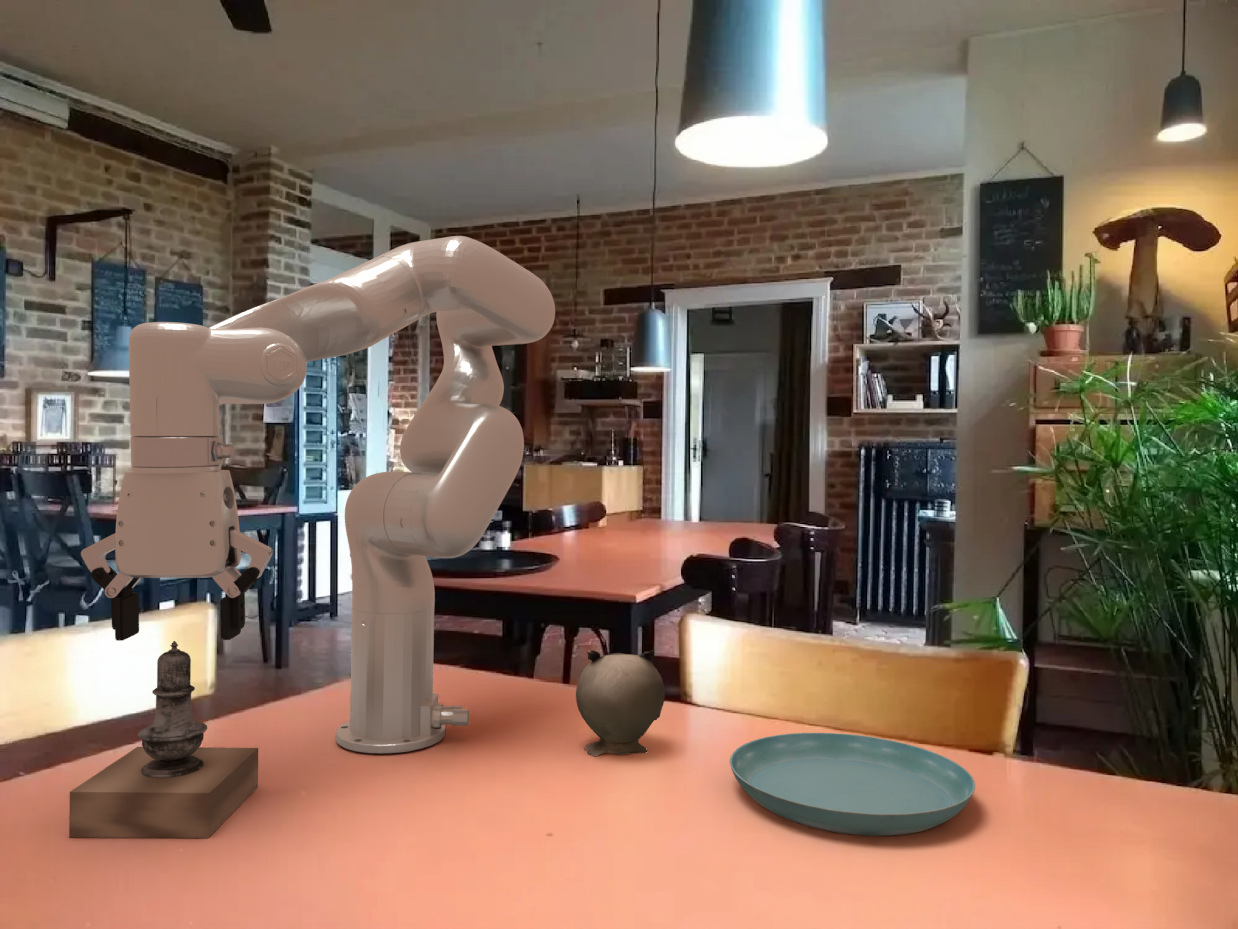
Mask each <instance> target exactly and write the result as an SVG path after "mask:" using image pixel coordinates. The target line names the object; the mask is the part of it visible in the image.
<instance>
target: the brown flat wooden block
mask: <svg viewBox="0 0 1238 929" xmlns="http://www.w3.org/2000/svg"><path fill="white" fill-rule="evenodd" d="M191 756H195V757H197V758H199V759H201V760H202V761H203V766H202V768H200V769H199V770H197V771H195V772H192V773H189V774H186V775H181V776H176V777H167V778H154V777H148V776H145V775H143V774H142V773H141V770H142V768H143V767H144V766H145V765H147V764H148V763H149V762H151V761H152V760H155V759H153V758H151V757H150V756H149V755H148V754H147V753H146V752H145V750H144V748H143V746H136V747H135V748H133V749H132V750H130V751H129V752H127V753H126V754H124V755H123V756H122V757H120V758H119V759H117V760H115V761H114V762H112V763H111V764H110V765H108V766H106V767H105V768H103V769H102V770H101V771H99V772H98V773H95V775H93V776H91V777H90V778H88V779H87V780H86V781H84V782H82V783H81V784H80V785H78V786H76V787H75V788H73V789H72V790H70V791H69V809H68V810H69V811H68V812H69V814H68V815H69V821H68V822H69V823H68V824H69V825H68V826H69V827H68V829H69V830H68V833H69V834H68V837H69V838H104V839H105V838H113V839H114V838H115V839H116V838H117V839H118V838H119V839H121V838H122V839H123V838H125V839H126V838H127V839H133V838H136V839H138V838H141V839H146V838H147V839H153V838H154V839H209V838H210V837H211V836H213V834H214V833H215V832H216V831H217V830H218V829H219V828H220V827H221V826H222V825H223V824H224V823H225V822H226V821H227V820H228V819H229V818H230V817H231V815H232V814H234V812H236V811H237V810H238V808H239V807H241V805H242V804H243V803H244V802H245V801H246V800H247V799H248V798H249V797H250V796H251V795H252V794H253V793H254V792H255V790H256V789H258V787H259V747H216V746H215V747H210V746H209V747H207V746H206V747H205V746H203V747H201V746H200V747H199V748H198V749H197V750H196V751H195V752H194V753H193V754H191Z"/></svg>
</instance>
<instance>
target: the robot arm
mask: <svg viewBox="0 0 1238 929" xmlns="http://www.w3.org/2000/svg"><path fill="white" fill-rule="evenodd" d="M555 304H556V303H555V301H554V297H553V295H552V293H551V291H550V290H549V288H548V286H547V285H546V284H545V283H544V281H543V280H542V279H541V278H540V277H538V275H535V274H534V273H532V272H531V271H530V270H529V269H526V268H524V267H523V266H522V265H521V264H518V263H517V262H516V261H514V260H512V259H511V258H509V257H507V256H506V255H504V254H503V253H501V252H500V251H498V250H496V249H494V248H493V247H490V246H489V245H487V244H485V243H483V242H481V241H478V240H477V239H474V238H471V237H468V236H463V235H455V236H453V235H452V236H446V237H441V238H439V237H438V238H433V239H426V240H421V241H419V240H418V241H414V242H409V243H406V244H403V245H399V246H398V247H395V248H393V249H391V250H388V251H386V252H384V253H382V254H380V255H378V256H376V257H373V258H372V259H370V260H368V261H365V262H363V263H361V264H359V265H357V266H355V267H353V268H350V269H348V270H346V271H343V272H341V273H339V274H337V275H335V276H332V277H331V278H329V279H326V280H323V281H320V282H317V283H315V284H312V285H309V286H307V287H306V286H305V287H304V288H301V289H299V290H297V291H294V292H292V293H289V294H287V295H285V296H282V297H280V298H277V299H274V300H270V301H269V302H266V303H263V304H260V305H258V306H255V307H252V308H250V309H247V310H244V311H243V312H239V313H237V314H235V315H233V316H231V317H228V318H226V319H225V320H222V321H219V322H218V323H215V324H213V325H211V326H209V327H207V326H204V325H200V324H195V323H188V322H187V323H186V322H175V321H174V322H172V321H153V322H144V323H140V324H137V325H135V326H134V327H133V328H132V330H131V331H130V333H129V337H128V368H129V370H128V372H129V373H128V374H129V375H128V376H129V377H128V378H129V380H128V381H129V416H130V417H129V422H130V423H129V424H130V425H129V427H130V428H129V429H130V430H129V431H130V433H129V434H130V470H128V471H124V473H123V477H122V482H121V486H120V491H119V495H118V496H119V497H118V502H117V510H116V511H117V512H116V518H115V520H116V522H115V533H113V534H111V535H109V536H107V537H105V538H103V539H101V540H99V541H97V542H95V543H93V544H91V545H88V546H87V547H85V548H84V549H82V550H81V552H80V556H81V558H82V560H83V561H84V564H85V566H86V567H87V569H88V570H89V571H90V576H91V578H92V579H93V581H94V582H95V583H96V584H98V586H100V588H102V589H103V590H104V595H105V596H106V597H107V598H108V599H110V602H111V604H110V606H111V607H110V610H111V627H112V629H113V630H114V635H115V636H114V638H115V640H116V641H119V642H120V641H122V642H123V641H125V640H127V639H128V638H129V639H130V638H131V637H133V636H135V635H137V634H139V633H140V632H139V631H140V606H139V605H140V603H139V602H140V600H139V594H138V592H137V591H136V592H135V591H134V587H136V586H137V584H138V583H139V581H141V579H192V578H193V579H196V578H197V579H200V578H201V579H203V578H204V579H206V578H212V580H214V582H215V583H216V584H217V586H218V587H220V589H222V591H223V592H224V597H222V598H220V600H219V602H220V603H219V605H220V606H219V607H220V608H219V609H220V639H223V641H230V640H232V639H234V638H235V637H237V636H238V635H240V634H241V632H242V629H243V628H245V625H246V595H245V594H246V593H247V592H248V591H249V590H250V588H251V587H253V585H254V584H255V583H256V582H257V581H259V579H261V578H262V576H263V575H264V572H265V569H266V568H267V566H268V564H269V562H270V561H271V558H272V556H273V555H274V550H273V548H272V547H271V546H268V545H267V544H265V543H263V542H261V541H259V540H256V539H255V538H253V537H251V536H248V535H246V534H245V533H242V532H241V530H240V521H239V514H238V504H237V500H236V494H235V488H234V484H233V478H232V475H231V472H230V470H229V469H221V465H222V464H223V460H226V459H234V457H235V454H236V453H235V446H234V444H233V443H225V442H223V437H221V436H220V405H237V404H241V405H242V404H243V405H264V404H273V403H277V402H280V401H284V400H285V399H287V398H289V397H291V396H293V394H295V393H296V392H297V391H298V390H299V389H300V388H301V386H302V384H303V383H304V381H305V378H306V376H307V369H308V368H307V365H308V364H307V363H309V362H314V361H319V360H324V359H325V360H326V359H329V358H336V357H341V356H346V355H350V354H353V353H356V352H359V351H362V350H366V349H368V348H371V347H373V346H374V345H376V344H378V343H380V342H381V341H383V340H385V339H386V338H389V337H390V336H391V335H393V334H395V333H397V332H399V331H401V330H402V329H404V328H405V327H407V326H408V327H409V325H411V324H412V323H415V322H417V321H418V320H420V319H421V318H422V319H423V318H424V317H426V316H428V315H430V314H433V313H436V316H435V317H436V325H437V329H438V334H439V337H440V340H441V341H440V342H441V346H442V347H441V348H442V352H443V366H442V370H441V373H440V375H439V377H438V378H437V380H436V382H435V384H434V386H432V388H431V390H430V392H429V393H428V394H427V396H426V397H425V398H424V401H423V402H422V404H421V405H420V406H419V408H418V410H417V411H416V412H415V414H414V415H413V417H412V418H411V420H410V422H409V423H408V425H407V427H406V429H405V430H404V432H403V434H402V436H401V440H400V444H399V455H400V459H401V462H402V464H403V465H404V466H405V468H407V470H408V471H381V472H377V473H373V474H370V475H368V476H366V477H364V478H362V479H361V480H359V481H358V482H357V483H356V484H355V485H354V487H352V489H351V491H350V492H349V495H348V497H347V498H346V502H345V508H344V524H345V525H344V526H345V532H346V538H347V543H348V548H349V554H350V555H349V556H350V562H351V578H352V580H351V581H352V583H351V584H352V585H351V587H352V590H351V592H352V593H351V597H352V599H351V603H352V604H351V605H352V606H351V633H350V634H351V644H350V645H351V646H350V650H351V652H350V653H351V654H350V699H349V700H350V701H349V702H350V705H349V707H350V710H349V713H350V714H349V720H348V721H346V722H344V723H342V724H341V725H339V726H338V728H337V729H336V731H335V732H336V734H335V736H336V737H335V739H336V743H337V744H338V745H339V746H340V747H342V748H344V749H347V750H350V751H354V752H358V753H365V754H382V755H383V754H398V753H404V752H412V751H417V750H422V749H426V748H428V747H430V746H433V745H435V744H437V743H439V742H440V741H441V740H442V739H443V738H444V737H445V734H446V725H447V726H449V725H451V726H454V727H455V726H456V727H457V726H458V727H459V726H460V727H461V726H462V727H468V726H469V723H470V709H469V708H463V707H462V705H459V704H458V705H444V704H443V703H441V702H440V703H439V693H434V692H433V691H434V644H435V641H434V640H435V638H434V637H435V602H436V598H435V595H436V594H435V593H436V591H435V585H434V583H435V582H434V578H433V573H432V570H431V568H430V564H429V562H428V560H427V557H428V558H437V559H438V558H439V559H453V558H458V557H461V556H463V555H465V554H467V553H468V552H470V551H471V550H472V549H473V548H474V547H475V546H476V545H477V544H478V543H479V541H480V540H481V538H482V537H483V535H484V534H485V532H486V530H487V528H488V527H489V525H490V523H491V522H492V520H493V518H494V517H495V514H496V513H497V511H498V509H499V508H500V506H501V504H502V502H503V501H504V499H505V497H506V495H507V493H508V491H509V489H510V488H511V486H512V484H513V482H514V481H515V478H516V476H517V474H518V472H519V470H520V467H521V464H522V461H523V457H524V449H525V440H524V438H525V437H524V432H523V428H522V426H521V425H522V424H520V421H519V419H518V418H517V417H516V416H515V414H514V413H513V412H511V410H509V409H507V408H505V407H503V406H501V402H502V400H503V396H504V389H505V385H504V380H503V375H502V373H501V371H500V368H499V365H498V362H497V360H496V356H495V353H494V350H493V346H507V345H510V346H511V345H525V344H530V343H531V344H532V343H534V342H537V341H539V340H541V339H543V338H544V337H546V335H547V334H548V333H549V332H550V330H551V329H552V327H553V325H554V323H555V322H554V321H555V318H556V305H555ZM112 551H114V552H115V554H114V556H115V565H116V569H117V571H118V572H116V570H115V569H113V567H112V566H109V565H108V561H107V559H106V556H107V554H109V553H110V552H112ZM242 553H244V554H247V555H248V556H250V559H251V560H250V563H249V565H248V567H247V569H245V570H244V571H243V572H242V573H241V572H240V571H239V569H238V567H239V565H240V563H241V559H242Z"/></svg>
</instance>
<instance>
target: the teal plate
mask: <svg viewBox="0 0 1238 929" xmlns="http://www.w3.org/2000/svg"><path fill="white" fill-rule="evenodd" d="M729 766H730V768H731V770H732V774H733V775H734V777H735V780H736V781H737V783H738V784H739V785H740V786H741V788H742V789H743V790H744V791H745V792H746V793H747V794H748V795H749V797H751V798H752V799H753V800H754V801H756V802H757V803H758V804H759V805H761V806H762V807H763V808H765V809H766V810H767V811H770V812H771V813H773V814H775V815H777V816H779V817H782V818H784V819H785V820H788V821H790V822H794V823H797V824H799V825H803V826H805V827H806V826H807V827H808V828H809V827H810V828H812V829H813V828H814V829H818V830H821V831H825V832H826V831H827V832H833V833H838V834H839V833H840V834H846V835H855V836H867V837H869V836H871V837H877V836H878V837H885V836H887V837H889V836H891V837H892V836H901V835H902V836H903V835H909V834H915V833H919V832H924V831H927V830H930V829H932V828H935V827H937V826H940V825H942V824H943V823H945V822H948V821H949V820H951V819H952V818H954V817H955V816H956V815H958V813H960V812H961V811H962V810H963V809H964V808H965V807H966V806H967V804H968V803H969V802H970V800H971V798H972V797H973V795H974V793H975V790H976V783H975V780H974V778H973V776H972V775H971V773H970V772H969V771H968V770H967V769H965V767H963V766H962V765H960V764H959V763H957V762H955V761H953V760H952V759H949V758H948V757H946V756H943V755H941V754H939V753H937V752H934V751H932V750H928V749H926V748H921V747H919V746H915V745H911V744H908V743H904V742H900V741H895V740H892V739H891V740H890V739H886V738H880V737H873V736H868V735H859V734H850V733H836V732H795V733H794V732H793V733H783V734H776V735H770V736H766V737H762V738H761V737H760V738H757V739H754V740H751V741H749V742H746V743H744V744H742V745H740V746H739V747H737V748H736V749H735V750H734V751H733V752H732V754H731V755H730V757H729Z"/></svg>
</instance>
